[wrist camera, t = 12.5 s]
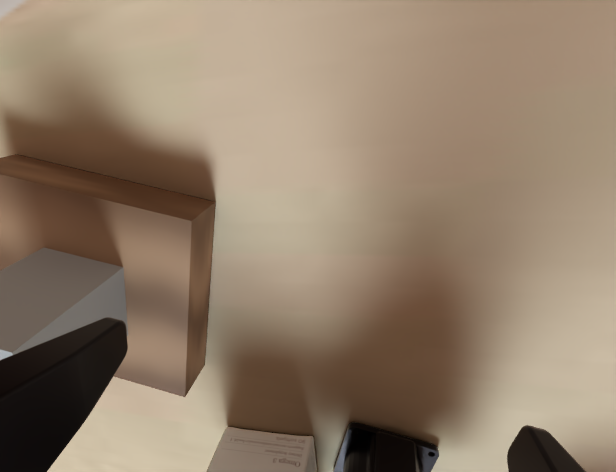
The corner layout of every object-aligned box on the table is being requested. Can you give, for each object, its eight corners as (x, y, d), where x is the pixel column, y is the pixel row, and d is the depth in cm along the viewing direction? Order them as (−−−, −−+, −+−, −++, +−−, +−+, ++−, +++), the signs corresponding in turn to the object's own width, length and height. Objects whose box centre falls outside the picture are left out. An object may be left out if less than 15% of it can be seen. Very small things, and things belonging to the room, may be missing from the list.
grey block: (128, 335, 23) (33, 434, 17) (56, 315, 24) (-63, 405, 17) (123, 267, 21) (12, 352, 15) (43, 247, 21) (-97, 321, 15)
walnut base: (204, 364, 27) (185, 397, 24) (45, 319, 28) (10, 346, 26) (215, 202, 21) (191, 221, 19) (16, 154, 23) (-34, 165, 20)
